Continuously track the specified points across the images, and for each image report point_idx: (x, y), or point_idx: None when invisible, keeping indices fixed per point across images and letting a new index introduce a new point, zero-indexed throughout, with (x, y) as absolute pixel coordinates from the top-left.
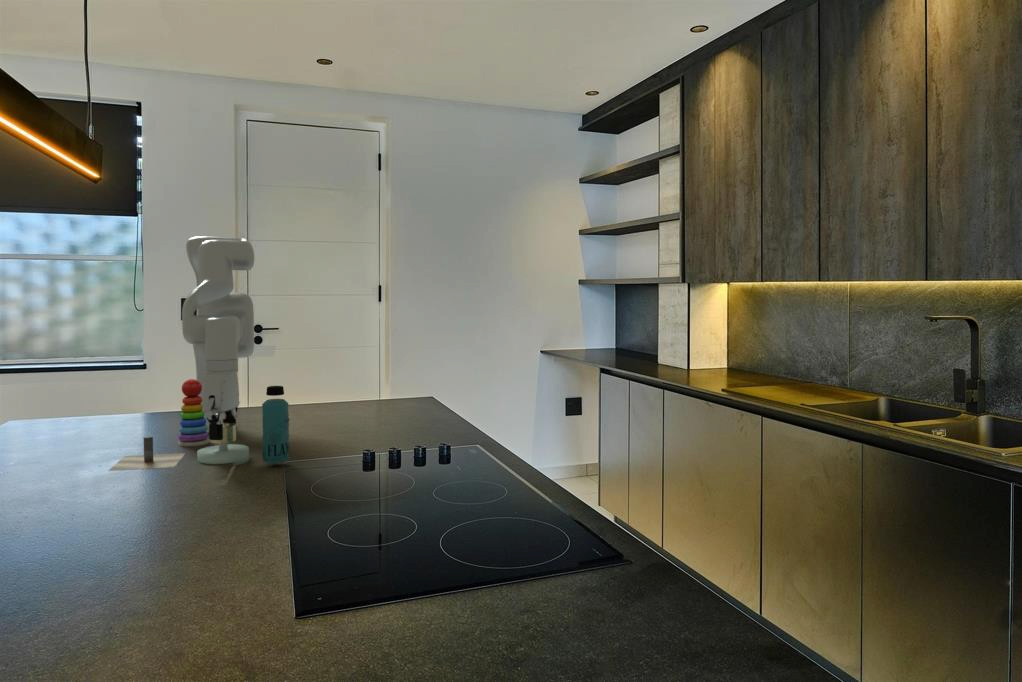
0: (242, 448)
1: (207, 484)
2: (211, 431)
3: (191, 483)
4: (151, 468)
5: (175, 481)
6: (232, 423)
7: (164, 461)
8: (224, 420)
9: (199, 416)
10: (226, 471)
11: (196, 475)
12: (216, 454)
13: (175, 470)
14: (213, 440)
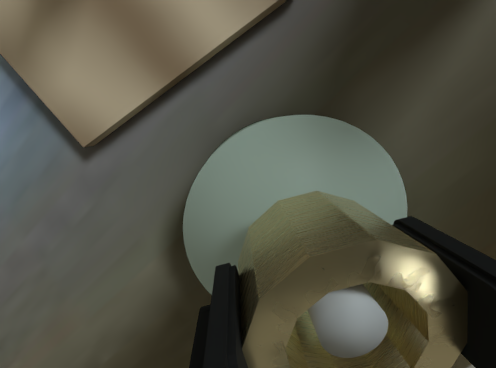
0: None
1: (49, 351)
2: (196, 341)
3: (27, 309)
4: (11, 63)
5: (9, 251)
6: (438, 364)
7: (129, 15)
8: (490, 301)
9: None
10: (183, 305)
11: (100, 258)
12: (214, 266)
13: (106, 139)
14: (240, 265)
